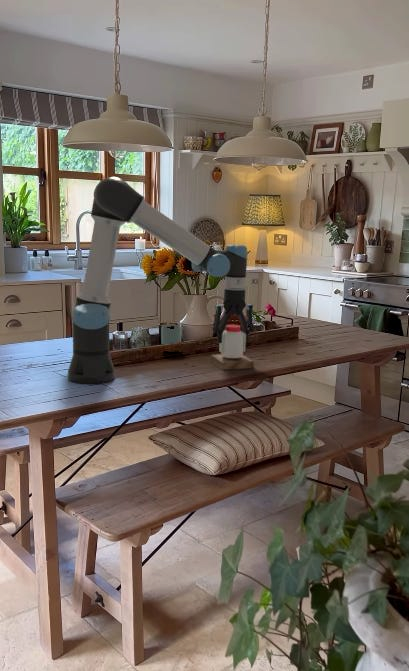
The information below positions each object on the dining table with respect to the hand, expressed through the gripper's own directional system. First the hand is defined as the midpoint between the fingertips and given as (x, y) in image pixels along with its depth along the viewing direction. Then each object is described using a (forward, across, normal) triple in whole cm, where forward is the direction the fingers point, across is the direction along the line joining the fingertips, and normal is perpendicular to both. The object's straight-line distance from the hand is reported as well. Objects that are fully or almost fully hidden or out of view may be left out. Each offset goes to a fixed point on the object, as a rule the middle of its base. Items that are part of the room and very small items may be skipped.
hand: (232, 351), depth 221 cm
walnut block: (+6, 0, 0) cm, 6 cm away
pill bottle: (+2, 0, 0) cm, 2 cm away
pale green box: (+5, -16, +24) cm, 29 cm away
